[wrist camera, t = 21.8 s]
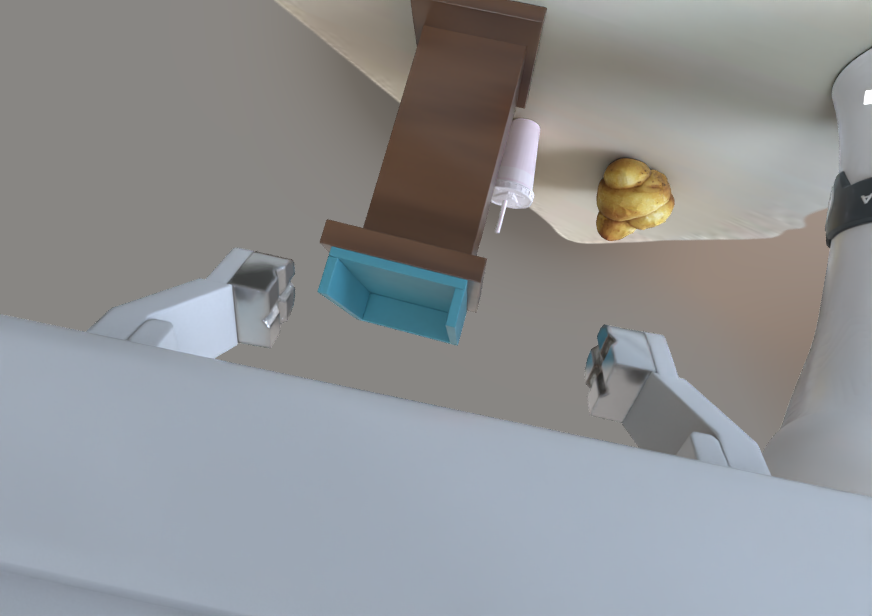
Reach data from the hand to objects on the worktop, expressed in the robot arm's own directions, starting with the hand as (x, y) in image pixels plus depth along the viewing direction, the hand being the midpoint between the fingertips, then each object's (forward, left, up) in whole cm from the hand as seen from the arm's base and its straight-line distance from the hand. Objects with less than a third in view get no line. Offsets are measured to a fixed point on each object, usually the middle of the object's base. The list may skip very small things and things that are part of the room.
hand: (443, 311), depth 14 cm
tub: (+24, +24, -6) cm, 34 cm away
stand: (+24, +24, -32) cm, 47 cm away
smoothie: (+27, +40, -32) cm, 58 cm away
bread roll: (+17, +54, -32) cm, 65 cm away
